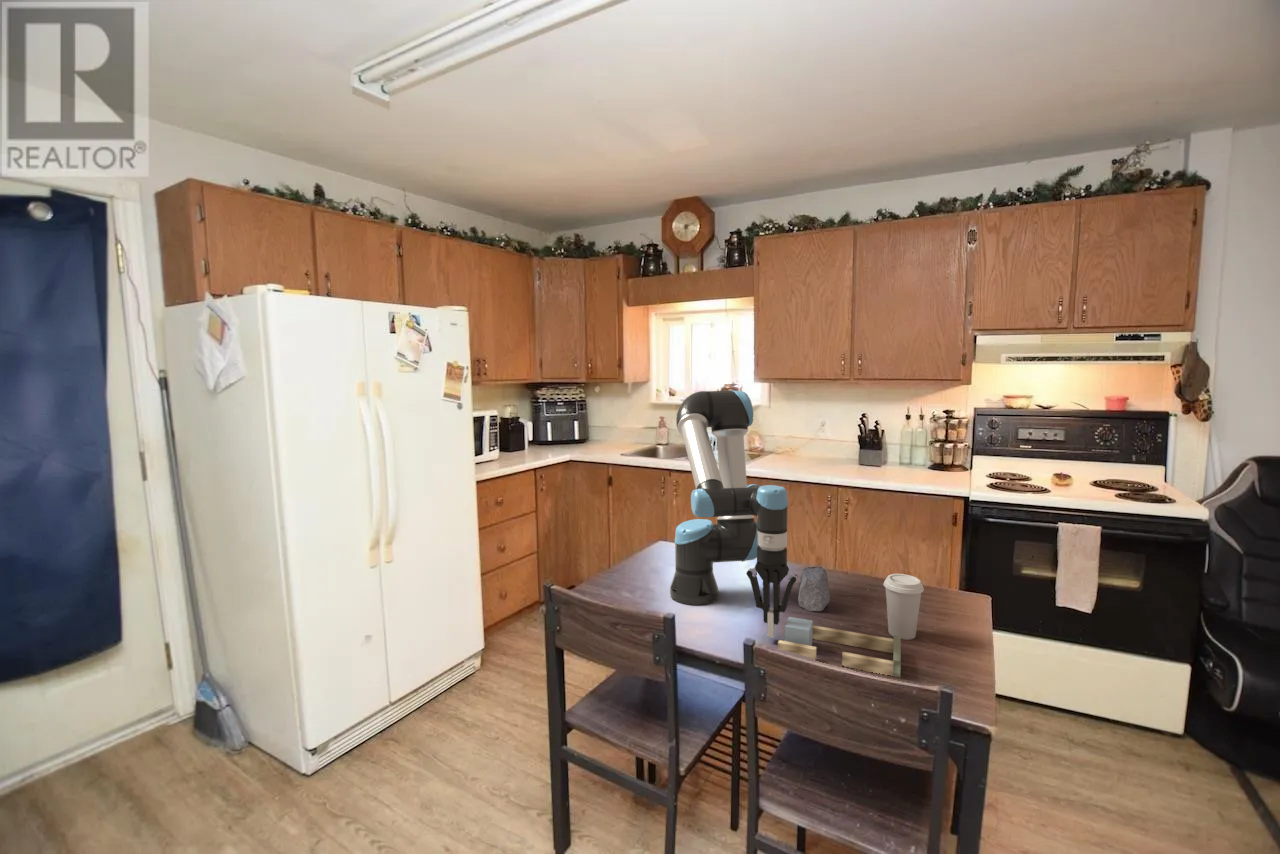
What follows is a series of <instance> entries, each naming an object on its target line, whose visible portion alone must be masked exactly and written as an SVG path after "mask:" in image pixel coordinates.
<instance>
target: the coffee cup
mask: <svg viewBox="0 0 1280 854" xmlns="http://www.w3.org/2000/svg"><path fill="white" fill-rule="evenodd" d="M883 587H884V588H885V597H886V599H885V600H886V613H887V616H886V617H887V629H888V630H887V631H888V633H889V635H890V636H891V637H893V638H894V635H896V636H900V640H909V641H910V640H913V639H915V638H916V635H917V630H918V629H917V626H918V621H919V620H918V618H919V613H920V612H919V611H920V605H921V598H922V597H921V596H922V593H923V592H924V591H925V589H924V586H923V584H922V582H921V580H920V578H918V577H916V576H914V575H911V574H910V575H909V574H905V573H891V574H889V575H887V577H886V578H885V580H884V582H883Z"/></svg>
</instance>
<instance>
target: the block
mask: <svg viewBox="0 0 1280 854" xmlns="http://www.w3.org/2000/svg"><path fill="white" fill-rule="evenodd" d="M813 622H814V621H813V620H811V619H806V618H800V617H793V616H788V617H787V620H786V622H785V625H784V641H787V642H793V643H798V644H804V645H809V646H813V639H812V634H813V625H814V624H813Z"/></svg>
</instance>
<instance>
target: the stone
mask: <svg viewBox="0 0 1280 854" xmlns="http://www.w3.org/2000/svg"><path fill="white" fill-rule="evenodd" d="M798 587H799V588H798V596H797V597H798V598H797V601H798V602H797V603H798V606H799V607H801V608H803V609H805V610H806V611H809V612H822V611H824V610H825V608H826V607H827V606H828V605H829V603H830V601H831V594H830V590H829V589H830V588H829V587H830V586H829V582H828V573H827V571H826V570H825V568H823V567H822V566H811V567H810V566H808V567H805V568H803V569H802V572H801V576H800V582H799V586H798Z"/></svg>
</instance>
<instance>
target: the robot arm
mask: <svg viewBox="0 0 1280 854" xmlns="http://www.w3.org/2000/svg"><path fill="white" fill-rule="evenodd" d="M675 419H676V427H677V431H678V433H679V434H680V435H681V436H682V437H683V442H684V446H685V451H686V454H687V458H688V463H689V465H690V470H691V471H690V472H691V473H692V478H693V482H694V486H695V489H693V490H692V492H691V494H690V505H691V511H692V514H693V515H694V516H695V517H697V518H695V519H690V520H686V521H682V522H680V523H679V524H678V525H677V526H676V528H675V532H674V533H675V536H674V544H675V546H674V548H675V551H674V552H675V560H674V561H675V572H674V575H673V579H672V581H671V584H670V589H669V593H670V594H669V596H670V595H671V596H670V598H671V597H672V598H673V599H675V600H676V601H675V600H674V601H675V602H677V601H679V602H678V603H680V602H682V603H681V604H684V603H687V604H686V605H690V604H692V605H691V606H693V605H694V606H698V605H706V604H707V605H708V604H710V603H713V602H715V601H717V600H718V598H719V596H720V595H719V594H720V593H719V587H718V583H717V580H716V578H715V575H714V564H715V563H728V562H729V563H732V562H742V563H743V562H746V561H753V560H756V563H755V565H754V567H753V568H749V569H748V570H747V571H746V575H747V578H748V579H749V581H750V584H751V589H752V594H753V598H754V602H755V606H756V608H758V609H761V610H762V611H763V623H764V624H767V631H766V632H767V634H766V635H767V638H774V637H775V635H776V626H777V625H778V624H779V623H780V613H785V612H786V610H787V608H788V604H789V601H790V597H791V593H792V590H793V586H794V584H795V583H796V582H797V579H798V574H793V573H792V572H791V571H790V567H789V566H788V549H787V547H788V509H789V507H788V505H789V500H788V490H787V488H785V487H784V486H780V485H774V484H773V485H772V484H767V485H759V484H755V483H751V484H748V482H747V468H746V466H747V465H746V453H745V450H746V449H745V440H744V439H745V438H744V437H745V435H746V434H747V433H748V432H749V427H750V426H752V425H753V422H754V408H753V404H752V401H751V398H750V396H749V395H748V393H746V392H745V391H742V390H710V391H708V390H707V391H706V390H701V391H700V390H699V391H697V392H694V393H691V394H690V395H688V396H687V397H686V398H685V399H684V400H683V401H682V403H681V404H680V405H679V407H678V409H677V413H676V417H675ZM708 428H711V434H712V435H713V436H714V437H715V438H716V445H717V460H718V461H717V460H716V456H715V453H714V449H713V447H712V444H711V439H710V437H709V432H708ZM755 516H756V521H755ZM716 517H717V518H716ZM701 518H703V519H701ZM706 518H708V519H706ZM709 518H710V519H711V518H716V524H715V523H714V522H713V521H712V520H710V519H709ZM758 576H759V577H760V578H761V580H762V586H763V587H762V588H763V589H762V591H763V593H761V592H762V591H761V588H760V585H759V580H758ZM785 577H786V581H787V585H786V587H785V591H784V595H783V598H782V602H781V597H780V596H781V582H783V580H784V578H785ZM771 584H772V590H773V592H772V593H773V594H772V595H773V597H772V599H773V600H772V602H773V603H772V606H773V608H771ZM762 595H763V596H762ZM672 598H671V599H672ZM673 599H672V600H673Z"/></svg>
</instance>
